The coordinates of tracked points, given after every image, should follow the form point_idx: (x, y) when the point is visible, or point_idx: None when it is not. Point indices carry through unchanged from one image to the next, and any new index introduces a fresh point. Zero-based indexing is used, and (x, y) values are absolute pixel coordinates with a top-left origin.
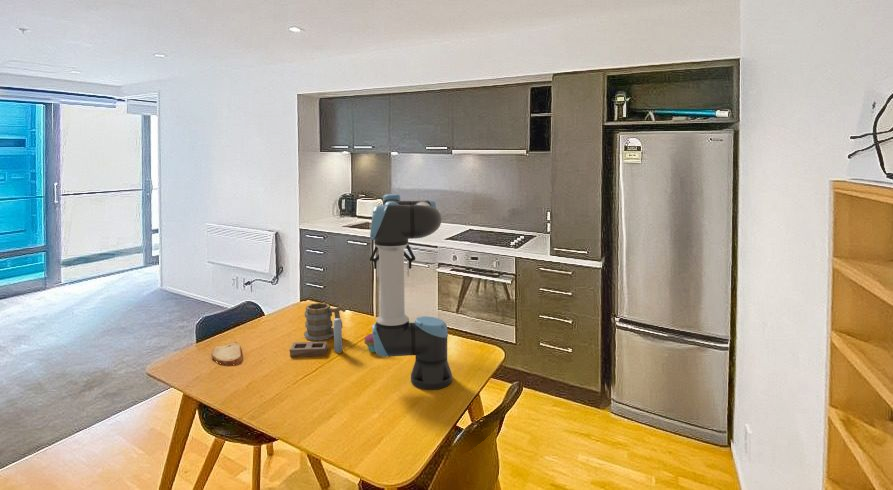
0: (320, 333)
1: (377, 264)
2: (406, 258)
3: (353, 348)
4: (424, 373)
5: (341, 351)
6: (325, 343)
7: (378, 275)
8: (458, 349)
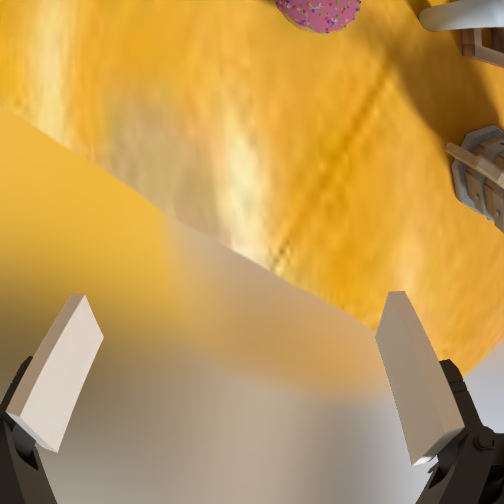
0: (494, 140)
1: (445, 405)
2: (11, 460)
3: (387, 31)
4: None
5: (420, 11)
6: (477, 40)
7: (389, 306)
8: (34, 43)
